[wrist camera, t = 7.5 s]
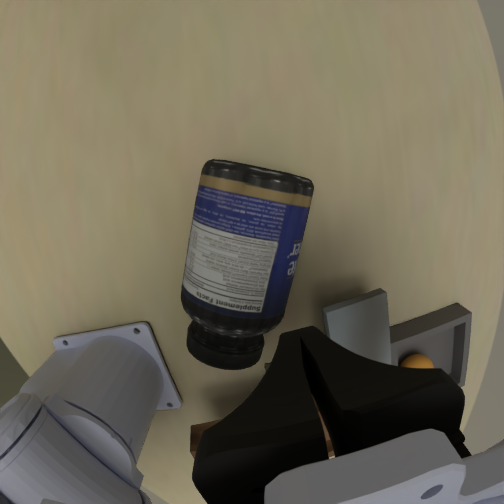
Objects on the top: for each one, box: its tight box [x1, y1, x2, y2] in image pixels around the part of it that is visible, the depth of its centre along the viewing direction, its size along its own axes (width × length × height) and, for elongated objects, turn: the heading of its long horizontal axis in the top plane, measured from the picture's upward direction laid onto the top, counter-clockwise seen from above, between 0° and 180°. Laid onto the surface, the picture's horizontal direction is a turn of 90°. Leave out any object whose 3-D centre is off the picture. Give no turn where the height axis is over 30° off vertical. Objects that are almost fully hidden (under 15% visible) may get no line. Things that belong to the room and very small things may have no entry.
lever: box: [190, 288, 391, 459], centre depth 18 cm, size 14×11×3 cm
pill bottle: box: [181, 159, 314, 370], centre depth 18 cm, size 6×6×11 cm
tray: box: [389, 303, 472, 387], centre depth 22 cm, size 8×8×2 cm
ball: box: [400, 354, 434, 368], centre depth 21 cm, size 3×3×3 cm
